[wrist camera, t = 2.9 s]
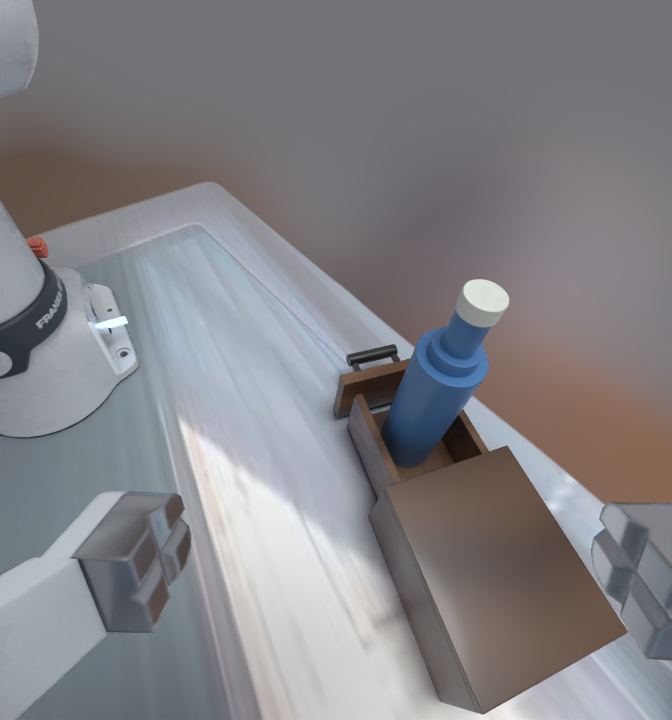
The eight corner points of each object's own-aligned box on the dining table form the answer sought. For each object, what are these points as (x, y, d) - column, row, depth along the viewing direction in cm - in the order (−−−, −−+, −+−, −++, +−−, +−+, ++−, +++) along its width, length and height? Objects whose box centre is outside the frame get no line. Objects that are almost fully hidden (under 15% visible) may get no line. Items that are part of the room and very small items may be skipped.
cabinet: (367, 516, 39) (384, 487, 33) (472, 478, 43) (507, 445, 36) (440, 701, 31) (482, 715, 24) (561, 636, 35) (628, 632, 28)
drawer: (321, 379, 48) (326, 344, 42) (404, 359, 51) (418, 324, 46) (382, 529, 38) (397, 508, 33) (479, 493, 41) (509, 468, 36)
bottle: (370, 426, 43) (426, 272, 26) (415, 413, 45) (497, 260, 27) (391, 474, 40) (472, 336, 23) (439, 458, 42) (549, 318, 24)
